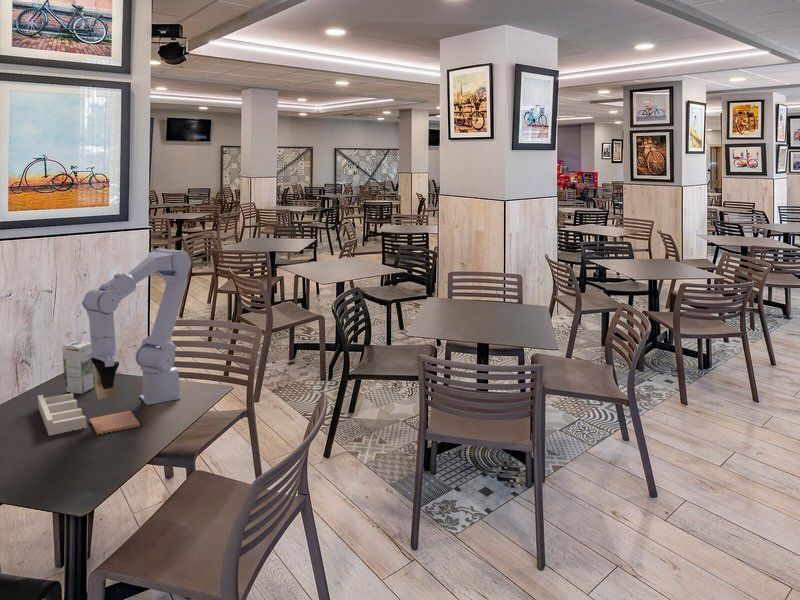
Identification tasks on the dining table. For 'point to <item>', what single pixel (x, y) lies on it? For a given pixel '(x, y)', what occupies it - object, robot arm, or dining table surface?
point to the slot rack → (61, 414)
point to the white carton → (78, 367)
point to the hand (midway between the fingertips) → (106, 385)
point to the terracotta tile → (114, 422)
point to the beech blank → (100, 391)
